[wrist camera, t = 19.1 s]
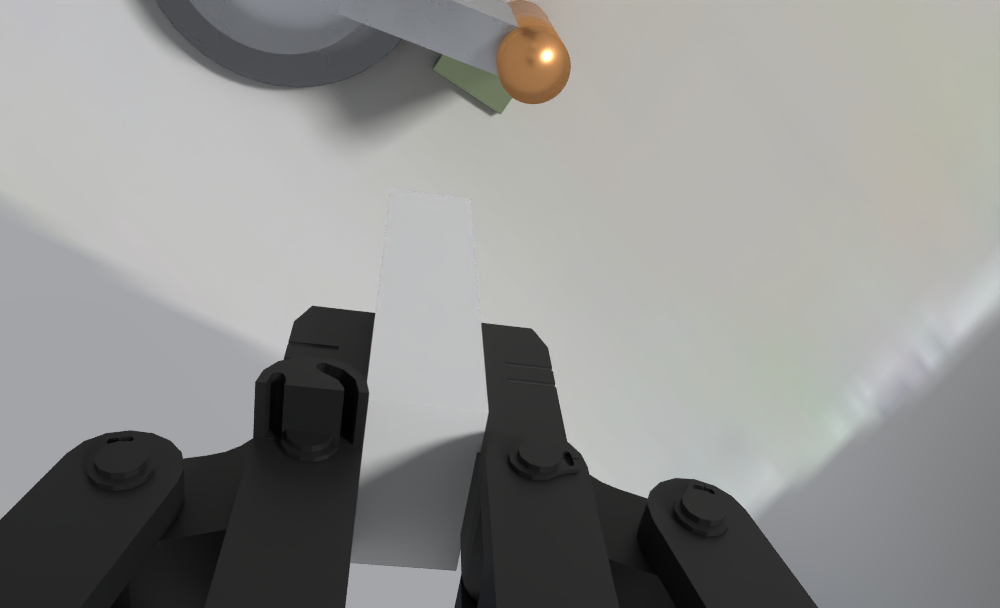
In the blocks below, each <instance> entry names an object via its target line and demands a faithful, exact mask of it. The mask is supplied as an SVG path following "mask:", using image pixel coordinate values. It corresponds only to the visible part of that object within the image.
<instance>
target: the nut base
mask: <svg viewBox="0 0 1000 608" xmlns="http://www.w3.org/2000/svg"><path fill="white" fill-rule="evenodd" d="M156 2H157V4H158V5H159V7H160V8H161V10H162V12H163V13H164V14H165V15H166V17H167V18H168V19H169V21H170V22H171V23H172V24H173V26H174V27H175V28H176V29H177V30H178V31H179V32H180V33H181V34H182V35H183V36H184V37H185V38H186V39H187V40H188V41H189V42H190V43H191V44H192V45H193V46H195V47H196V48H197V49H198V50H199V51H201V52H202V53H203V54H204V55H206V56H207V57H209V58H210V59H212V60H213V61H215V62H217V63H218V64H220V65H221V66H223V67H225V68H227V69H229V70H231V71H233V72H235V73H237V74H239V75H242V76H245V77H247V78H250V79H253V80H256V81H259V82H264V83H268V84H273V85H278V86H290V87H309V86H319V85H324V84H330V83H334V82H337V81H340V80H343V79H347V78H349V77H352V76H354V75H356V74H358V73H360V72H362V71H364V70H366V69H367V68H369V67H370V66H372V65H373V64H375V63H377V62H378V61H380V60H381V59H382V58H383V57H384V56H385V55H387V54H388V53H389V52H390V51H391V50H392V49H393V48H394V47H395V46H396V45H397V44H398V43H399V41H400V40H401V39H402V38H399V37H396V36H394V35H391V34H389V33H386V32H383V31H381V30H378V29H376V28H373V27H371V26H368V25H365V24H363V23H360V24H359V25H358V26H357V27H356V28H355V29H354V30H353V31H352V32H351V33H349V34H348V35H347V36H345V37H344V38H343V39H341V40H339V41H338V42H336V43H334V44H332V45H330V46H328V47H325V48H322V49H320V50H316V51H312V52H308V53H301V54H276V53H270V52H264V51H261V50H257V49H254V48H251V47H248V46H246V45H244V44H241V43H239V42H237V41H235V40H233V39H232V38H230V37H228V36H227V35H225V34H223V33H222V32H221V31H219V30H218V29H217V28H215V27H214V26H213V25H212V24H211V23H209V22H208V21H207V20H206V19H205V18H204V17H203V16H202V15H201V14H200V13H199V12H198V10H197V9H196V8H195V7H194V6H193V4H192V3H191V2H190V0H156ZM433 70H434V71H436V72H437V73H439V74H440V75H442V76H443V77H445V78H446V79H448V80H449V81H451V82H452V83H454V84H455V85H457V86H458V87H460V88H461V89H463V90H464V91H466V92H467V93H469V94H470V95H472V96H473V97H475V98H476V99H478V100H479V101H481V102H482V103H484V104H486V105H487V106H489V107H490V108H492V109H493V110H495V111H496V112H498V113H499V114H501V113H502V112H503V110H504V109H505V107H506V106H507V105H508V103H509V102H510V100H511V99H512V97H511V96H510V95H509V94H508V93H507V92H506V91H505V89H504V88H503V86H502V84H501V81H500V79H499V76H497V75H494V74H492V73H489V72H487V71H484V70H481V69H479V68H476V67H474V66H471V65H469V64H466V63H463V62H461V61H458V60H456V59H453V58H451V57H448V56H445V55H443V54H442V55H441V57H440V58H439V60H438V61H437V63H436V64H435V66H434V67H433Z"/></svg>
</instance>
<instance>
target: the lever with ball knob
mask: <svg viewBox="0 0 1000 608" xmlns="http://www.w3.org/2000/svg"><path fill="white" fill-rule="evenodd" d="M190 2H191V3H192V4H193V6H194V7H195V8H196V9H197V10H198V12H199V13H200V14H201V15H202V16H203V17H204V18H205V19H206V20H207V21H208V22H209V23H211V24H212V25H213V26H214V27H215V28H217V29H218V30H219V31H221V32H222V33H223V34H225V35H227V36H228V37H230V38H232V39H233V40H235V41H237V42H239V43H241V44H244V45H246V46H248V47H251V48H254V49H257V50H261V51H264V52H270V53H276V54H301V53H308V52H312V51H316V50H320V49H322V48H325V47H328V46H330V45H332V44H334V43H336V42H338V41H339V40H341V39H343V38H344V37H345V36H347V35H348V34H349V33H351V32H352V31H353V30H354V29H355V28H356V27H357V26H358V25H359V24H360V23H363V24H365V25H368V26H371V27H373V28H376V29H378V30H381V31H383V32H386V33H389V34H391V35H394V36H396V37H399V38H402V39H404V40H407V41H409V42H412V43H414V44H417V45H420V46H422V47H425V48H427V49H430V50H432V51H435V52H438V53H440V54H443V55H445V56H448V57H451V58H453V59H456V60H458V61H461V62H463V63H466V64H469V65H471V66H474V67H476V68H479V69H481V70H484V71H487V72H489V73H492V74H494V75H497V76H499V79H500V81H501V84H502V86H503V88H504V89H505V91H506V92H507V93H508V94H509V95H510V96H511V97H513V98H514V99H516V100H518V101H520V102H523V103H527V104H539V103H544V102H546V101H549V100H551V99H552V98H554V97H555V96H557V95H558V94H559V93H560V92H561V91H562V89H563V88H564V87H565V85H566V83H567V81H568V78H569V75H570V68H571V65H570V57H569V54H568V52H567V49H566V48H565V46H564V44H563V43H562V41H561V39H560V38H559V36H558V34H557V32H556V31H555V29H554V27H553V26H552V24H551V22H550V21H549V19H548V17H547V16H546V14H545V13H544V11H543V10H542V9H541V8H540V7H539V6H537V5H536V4H534V3H532V2H529V1H524V0H516V1H512V2H509V3H505V2H503V1H500V0H190Z"/></svg>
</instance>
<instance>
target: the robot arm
mask: <svg viewBox="0 0 1000 608" xmlns="http://www.w3.org/2000/svg"><path fill="white" fill-rule="evenodd" d="M551 370H552V365H551V361H550V356H549V351H548V347H547V346H546V345H545V344H544V342H543V341H542V340H541V339H540V338H539V337H538V335H537V334H536V333H535V332H534V331H533V329H530V328H521V327H513V326H504V325H495V324H486V323H481V316H480V304H479V293H478V281H477V269H476V257H475V246H474V234H473V222H472V211H471V199H467V198H459V197H452V196H445V195H437V194H430V193H422V192H415V191H407V190H400V189H393V188H391V190H390V198H389V206H388V214H387V223H386V231H385V239H384V247H383V255H382V263H381V272H380V280H379V288H378V296H377V304H376V312H375V313H370V312H362V311H353V310H344V309H335V308H327V307H318V306H312V307H310V308H309V309H308V310H307V311H306V312H305V313H303V314H302V315H301V316H300V317H299V318H298V319H296V320H295V321H294V324H293V328H292V331H291V335H290V338H289V343H288V345H287V349H286V353H285V356H284V360H282V361H278V362H276V363H275V364H273V365H271V366H270V367H268V368H266V369H265V370H263V372H262V373H261V375H260V376H259V378H258V379H257V380H256V382H255V407H254V433H253V434H254V435H253V439H251V440H250V441H248V442H246V443H245V444H243V445H242V446H239V447H237V448H235V449H232V450H229V451H227V452H223V453H218V454H213V455H208V456H200V457H193V458H186V459H183V457H182V453H181V451H180V450H179V449H178V448H177V447H176V446H175V445H174V444H173V443H172V442H171V441H169V440H167V439H165V438H163V437H160V436H158V435H155V434H153V433H146V432H138V431H123V432H113V433H106V434H103V435H100V436H97V437H95V438H92V439H89V440H86V441H84V442H82V443H81V444H80V445H78V446H77V447H75V448H74V449H72V450H71V451H70V452H68V453H67V454H66V455H65V456H64V457H63V458H62V459H61V460H60V461H59V462H58V463H57V464H56V465H55V466H54V467H53V468H52V469H51V470H50V471H49V472H48V473H47V474H46V475H45V476H44V477H43V478H42V479H41V480H40V481H39V482H38V483H37V484H36V485H35V486H34V487H33V488H32V489H31V490H30V491H29V492H28V493H27V494H26V495H25V496H24V497H23V498H22V499H21V500H20V501H19V502H18V503H17V504H16V505H15V506H14V507H13V508H12V509H11V510H10V511H9V512H8V513H7V514H6V515H5V516H4V517H3V518H2V519H1V520H0V608H345V604H346V595H347V586H348V577H349V568H350V563H358V564H371V565H385V566H386V565H387V566H399V567H413V568H427V569H441V570H454V571H456V569H457V564H458V559H459V554H460V550H461V571H462V574H461V579H460V584H459V589H458V593H457V598H456V603H455V608H818V607H817V606H816V604H815V603H814V602H813V600H812V599H811V597H810V596H809V595H808V593H807V592H806V591H805V589H804V588H803V587H802V585H801V584H800V583H799V581H798V580H797V579H796V577H795V576H794V575H793V573H792V572H791V571H790V569H789V568H788V566H787V565H786V564H785V562H784V561H783V560H782V558H781V557H780V556H779V554H778V553H777V552H776V550H775V549H774V548H773V546H772V545H771V543H770V542H769V541H768V539H767V538H766V537H765V535H764V534H763V533H762V532H761V530H760V529H759V527H758V526H757V525H756V523H755V522H754V521H753V519H752V518H751V516H750V515H749V514H748V512H747V511H746V510H745V509H744V508H743V507H742V506H741V505H740V504H739V503H738V502H737V501H736V500H735V499H734V498H733V497H732V496H731V495H729V494H727V493H726V492H724V491H722V490H721V489H719V488H717V487H715V486H714V485H710V484H707V483H704V482H701V481H698V480H695V479H681V478H674V479H671V480H667V481H663V482H660V483H659V484H658V485H657V486H656V487H655V488H653V489H652V490H651V491H650V494H649V497H648V499H647V498H644V497H641V496H638V495H635V494H632V493H629V492H625V491H622V490H619V489H617V488H614V487H612V486H609V485H607V484H604V483H602V482H601V481H599V480H597V479H596V478H594V477H593V476H591V475H589V471H588V467H587V465H586V463H585V461H584V459H583V457H582V455H581V454H580V453H579V452H578V451H577V450H576V449H575V448H574V447H573V446H572V445H570V444H569V443H568V442H567V439H566V434H565V429H564V424H563V419H562V414H561V409H560V404H559V400H558V395H557V390H556V387H555V380H554V375H553V371H551Z"/></svg>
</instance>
